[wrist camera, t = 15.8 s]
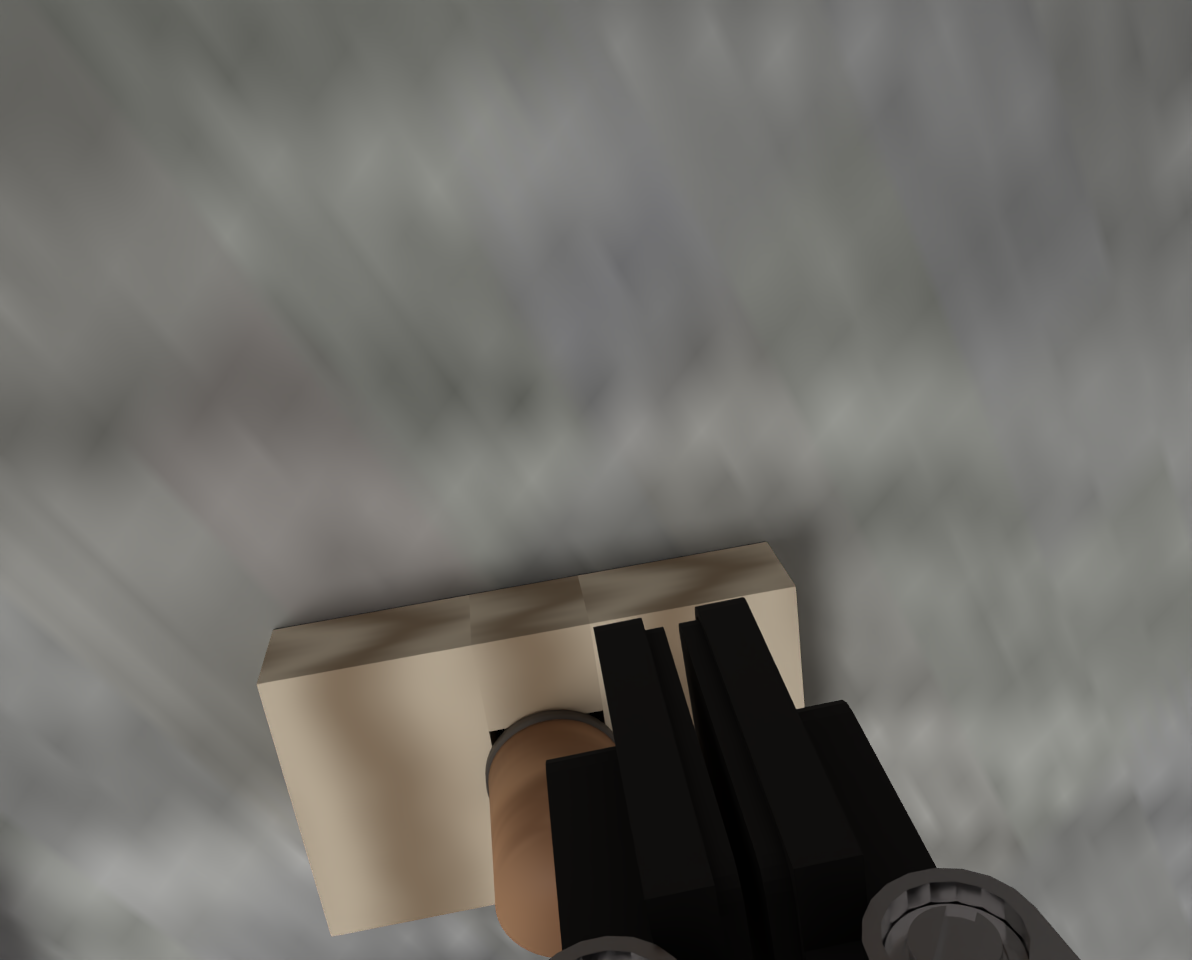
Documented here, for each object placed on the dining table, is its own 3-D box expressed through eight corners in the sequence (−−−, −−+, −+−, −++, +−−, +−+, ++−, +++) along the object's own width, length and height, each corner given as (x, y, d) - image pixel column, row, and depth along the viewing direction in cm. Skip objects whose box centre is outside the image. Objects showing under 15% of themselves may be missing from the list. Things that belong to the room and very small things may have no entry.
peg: (601, 643, 45) (645, 815, 35) (617, 750, 47) (664, 943, 37) (471, 667, 45) (478, 847, 35) (494, 774, 47) (506, 974, 37)
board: (766, 541, 44) (795, 586, 41) (786, 781, 49) (814, 841, 45) (273, 629, 43) (256, 684, 39) (340, 867, 48) (331, 936, 44)
